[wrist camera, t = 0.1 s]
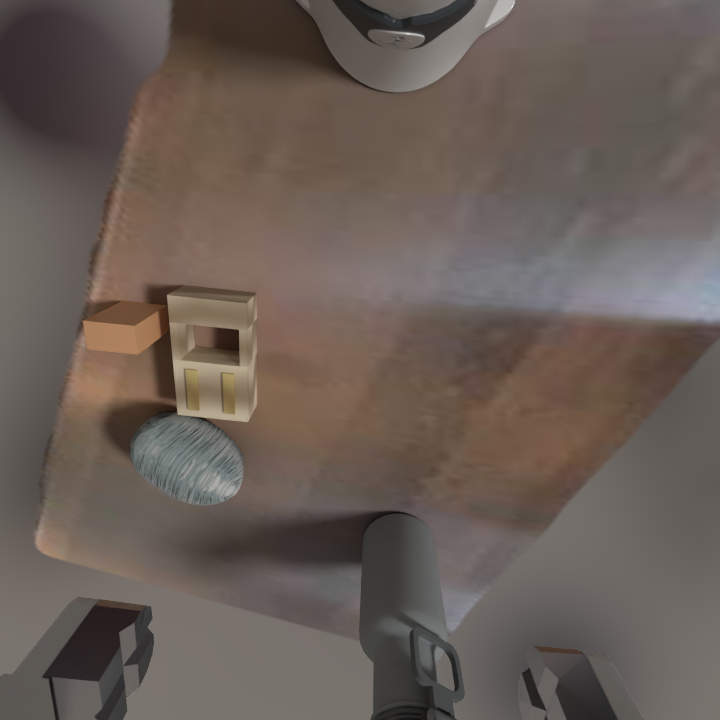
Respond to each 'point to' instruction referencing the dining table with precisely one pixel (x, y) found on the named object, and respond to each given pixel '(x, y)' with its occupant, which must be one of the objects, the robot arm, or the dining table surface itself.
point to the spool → (187, 458)
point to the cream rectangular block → (214, 353)
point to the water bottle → (405, 622)
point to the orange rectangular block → (126, 327)
